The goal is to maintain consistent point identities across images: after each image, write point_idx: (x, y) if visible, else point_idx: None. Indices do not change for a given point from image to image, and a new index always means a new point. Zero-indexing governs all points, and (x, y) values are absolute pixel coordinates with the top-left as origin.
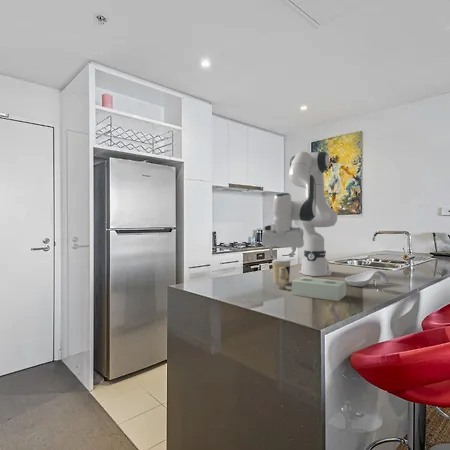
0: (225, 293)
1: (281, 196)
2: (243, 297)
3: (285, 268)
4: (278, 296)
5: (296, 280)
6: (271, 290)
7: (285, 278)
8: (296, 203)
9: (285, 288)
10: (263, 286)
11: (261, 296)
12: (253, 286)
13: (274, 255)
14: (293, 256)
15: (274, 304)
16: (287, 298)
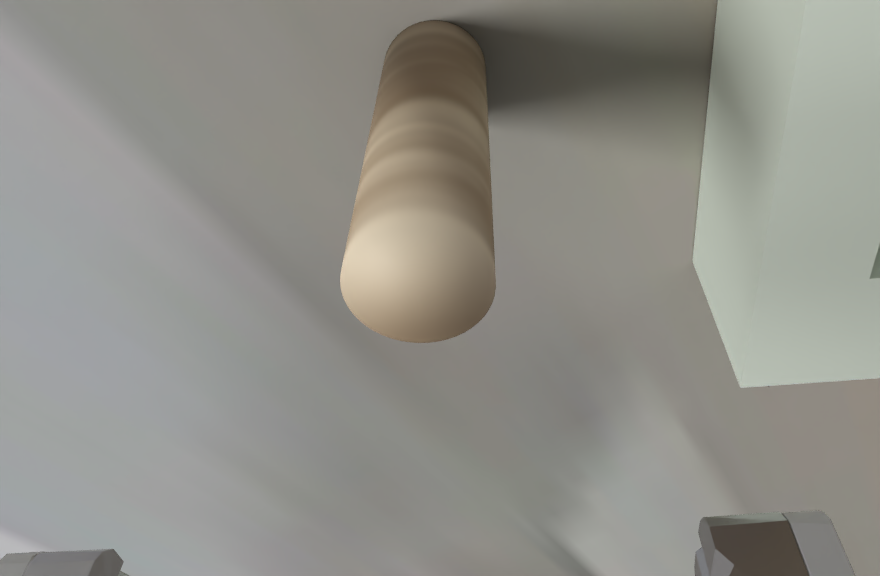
0: (148, 528)
1: None
2: (357, 535)
3: (493, 266)
4: (591, 386)
5: (800, 328)
6: None
7: (487, 145)
8: None
9: (484, 64)
10: (114, 111)
11: (454, 457)
12: (30, 197)
13: (119, 573)
14: (824, 526)
15: (673, 548)
16: (705, 395)
